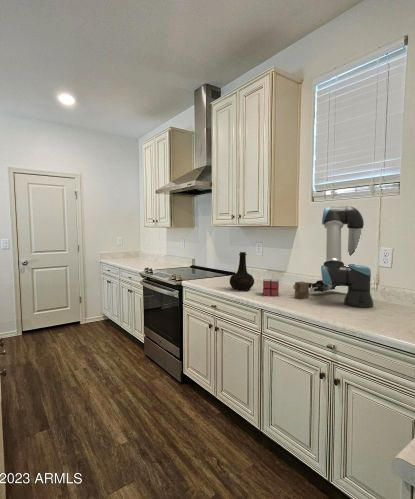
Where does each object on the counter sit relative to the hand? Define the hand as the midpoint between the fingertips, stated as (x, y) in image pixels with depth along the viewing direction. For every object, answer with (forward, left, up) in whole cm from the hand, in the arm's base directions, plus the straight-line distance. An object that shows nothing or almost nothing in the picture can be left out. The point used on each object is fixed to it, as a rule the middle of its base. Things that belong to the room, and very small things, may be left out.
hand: (301, 288), depth 193 cm
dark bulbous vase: (+41, +17, -6) cm, 45 cm away
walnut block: (-1, +1, -6) cm, 6 cm away
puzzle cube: (+17, +11, -6) cm, 21 cm away
